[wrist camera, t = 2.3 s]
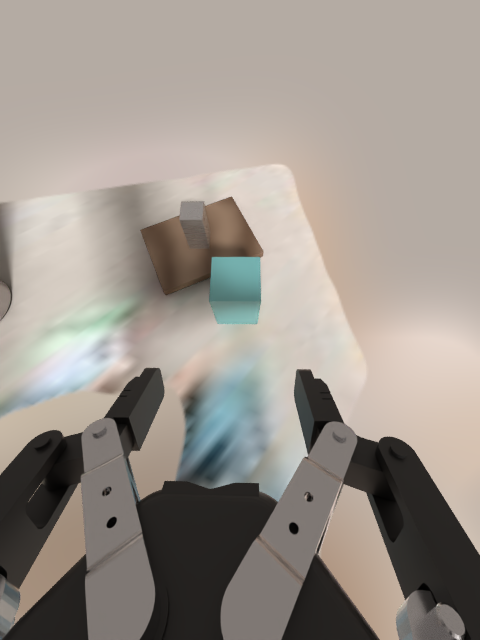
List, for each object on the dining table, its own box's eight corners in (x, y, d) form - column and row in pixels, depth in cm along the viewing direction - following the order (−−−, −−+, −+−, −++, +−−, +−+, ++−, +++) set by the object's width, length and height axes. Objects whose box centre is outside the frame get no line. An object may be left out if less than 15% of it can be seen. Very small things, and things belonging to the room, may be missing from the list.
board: (166, 295, 34) (163, 291, 33) (143, 235, 37) (140, 230, 36) (262, 256, 36) (263, 251, 35) (232, 202, 39) (231, 196, 38)
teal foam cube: (217, 323, 32) (209, 301, 25) (219, 288, 34) (211, 257, 26) (257, 324, 32) (260, 301, 25) (256, 288, 34) (260, 256, 26)
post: (189, 248, 35) (179, 219, 29) (191, 232, 36) (181, 201, 30) (209, 248, 35) (202, 219, 29) (210, 232, 36) (203, 201, 30)
